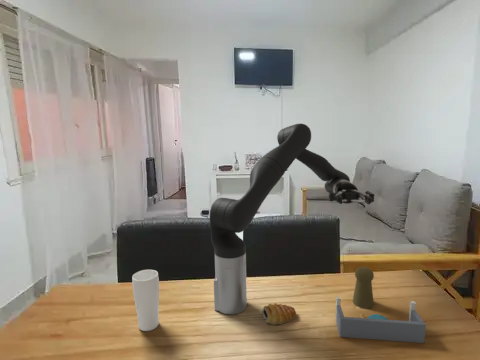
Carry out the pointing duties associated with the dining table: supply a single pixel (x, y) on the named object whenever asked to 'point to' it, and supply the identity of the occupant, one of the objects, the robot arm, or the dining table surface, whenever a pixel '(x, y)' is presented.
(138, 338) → the dining table surface
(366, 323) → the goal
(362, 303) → the cork
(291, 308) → the pastry
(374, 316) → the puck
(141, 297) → the drinking glass
